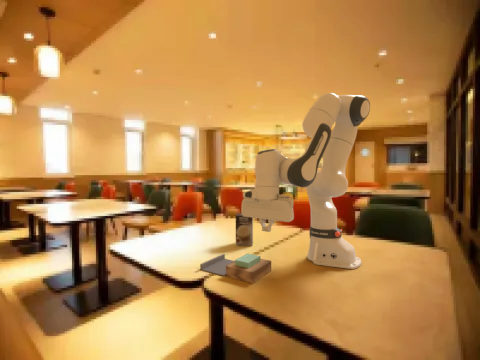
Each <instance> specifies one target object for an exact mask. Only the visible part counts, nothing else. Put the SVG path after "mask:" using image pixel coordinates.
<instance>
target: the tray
mask: <svg viewBox="0 0 480 360" xmlns="http://www.w3.org/2000/svg"><path fill="white" fill-rule="evenodd" d="M225 255H226V254H225V253H221V254H219V255H217V256H216V257H213V258H211V259H209V260H206V261H204V262H202V263H200V265H199V266H200V267H199V270H200V271H201V272H202V271H203V272H206V273H211V274H214V275H218V276H221V275H222V276H221V277H225V275H226V265H228V264H230V263H232V262H234V261H235V260H232V259H227V258H226V257H225Z"/></svg>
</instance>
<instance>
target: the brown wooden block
mask: <svg viewBox="0 0 480 360" xmlns="http://www.w3.org/2000/svg"><path fill="white" fill-rule="evenodd" d="M233 261H234V262H232V263H230V264H228V265H226V277H227V276H228V278H231V277H232V278H231V279H234V278H235V280H238V279H239V280H238V281H242V280H243V282H246V283H249V282H250V284H255V282H257V281H259V280H260V279H261V278H263V277H265V276H266V275H267V274H268V273H270V272H272V260H270V259H269V260H268V259H265V258H260V262H258V263H256V264H255V265H253V266H251V267H250V268H245V267H241V266H237V265H235V260H233Z"/></svg>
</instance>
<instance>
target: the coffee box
mask: <svg viewBox="0 0 480 360" xmlns="http://www.w3.org/2000/svg"><path fill="white" fill-rule="evenodd" d="M253 242H254V218H251V217H244V216H243V215H242V213H241V212H240V213H239V212H237V213H236V214H235V246H236V247H238V246H239V247H240V246H241V247H253V244H254V243H253Z"/></svg>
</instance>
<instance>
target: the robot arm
mask: <svg viewBox="0 0 480 360" xmlns="http://www.w3.org/2000/svg"><path fill="white" fill-rule="evenodd" d="M370 110H371V103H370V100H369V99H368V97H366V96H364V95H360V94H359V95H358V94H357V95H354V94H340V95H339V94H338V95H337V94H335V93H333V92H326V93H323V94H322V95H320V97H319V98H318V99H316V101H315V102H314V103H313V105H312V106H311V107H310V109H309V110H308V111H307V113H306V114H305V116H304V119H303V121H302V124H301V125H302V130H303V132H304V133H305V135H307V136H308V138H309V139H310V141H309V142H308V144H307V147H306V149H305V151H304V153H303V154H302V155H301V156H299V157H296V158H289V157H286V156H285V155H283V154H282V153H280V152H279V151H278V149H276V148H270V149H264V150H260V151H258V152H257V154H256V157H255V162H254V163H255V164H254V175H255V184H254V188H253V189H249V190H246V191H244V192H243V193H242V198H243V199H242V201H241V209H240V210H241V211H240V213H241V214H242V215H243V216H244V217H251V218H253V219H258V222H259V224H260V226H261V231H262V232H267V233H270V232H271V231H272V226H273V225H274V223H275V221H277V222H285V223H290V222H292V221H293V220H294V219H295V213H294V211H295V210H294V203H295V202H294V198H293V197H292V196H291V195H288V194H286V195H285V194H280V184H283V185H288V186H296V187H299V188H304V189H305V191H306V194H307V198H308V203H309V206H310V207H309V208H310V226H309V239H310V241H309V246H308V247H309V248H308V252H307V256H306V258H307V259H308V260H309V261H310V262H312V263H313V264H314V265H317V266H324V267H325V266H326V267H332V268H338V269H339V268H341V269H349V270H354V269H358V268H359V267H361V265H362V259H361V258H360V257H358V256H357V255H356V250H355V247H354V246H353V245H352V244H351V243H350V242H349V241H347V240H346V239H345V238H344V237H343V236H342V235H343V234H342V233H343V228H342V229H340V228H338V210H337V207H336V206H335V204H334V202H333V199H332V198H338V197H341V196H343V195H345V193H346V192H347V191H348V188H349V182H348V179H347V177H346V172H347V171H346V170H347V169H346V168H347V163H348V160H349V157H350V155H351V152H352V150H353V147H354V146H355V145H354V144H355V142H356V139H357V135H358V129H359V128H358V126H360V125H361V124H362V123H363V122H364V121H365V120H366V119H367V117H368V116H369V114H370ZM332 127H333V128H332ZM321 161H322V167H321V170H319V165H320V162H321ZM266 220H267V222H268V225H266V223H265V222H266Z"/></svg>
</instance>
